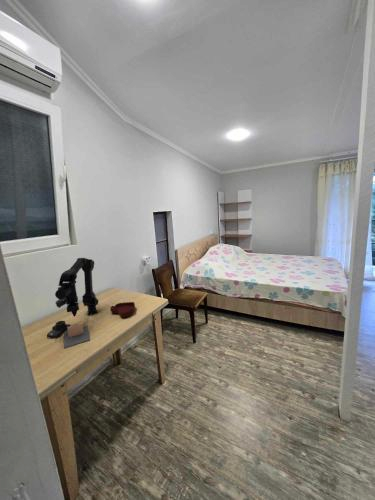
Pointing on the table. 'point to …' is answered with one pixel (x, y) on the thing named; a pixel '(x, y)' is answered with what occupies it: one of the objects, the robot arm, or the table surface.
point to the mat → (76, 338)
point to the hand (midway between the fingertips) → (74, 316)
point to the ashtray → (123, 309)
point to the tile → (75, 329)
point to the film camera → (58, 329)
